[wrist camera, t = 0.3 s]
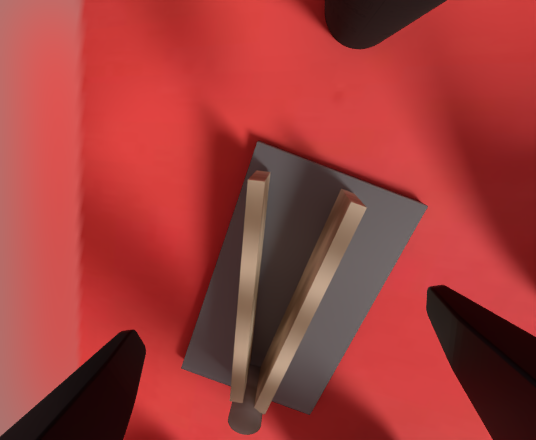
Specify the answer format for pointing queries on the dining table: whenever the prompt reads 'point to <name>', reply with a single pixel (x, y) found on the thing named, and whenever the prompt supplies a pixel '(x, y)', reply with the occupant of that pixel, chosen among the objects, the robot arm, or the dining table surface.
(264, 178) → the tongs arm
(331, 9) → the drinking cup
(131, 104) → the dining table surface
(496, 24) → the dining table surface
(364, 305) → the serving board
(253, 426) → the arm
